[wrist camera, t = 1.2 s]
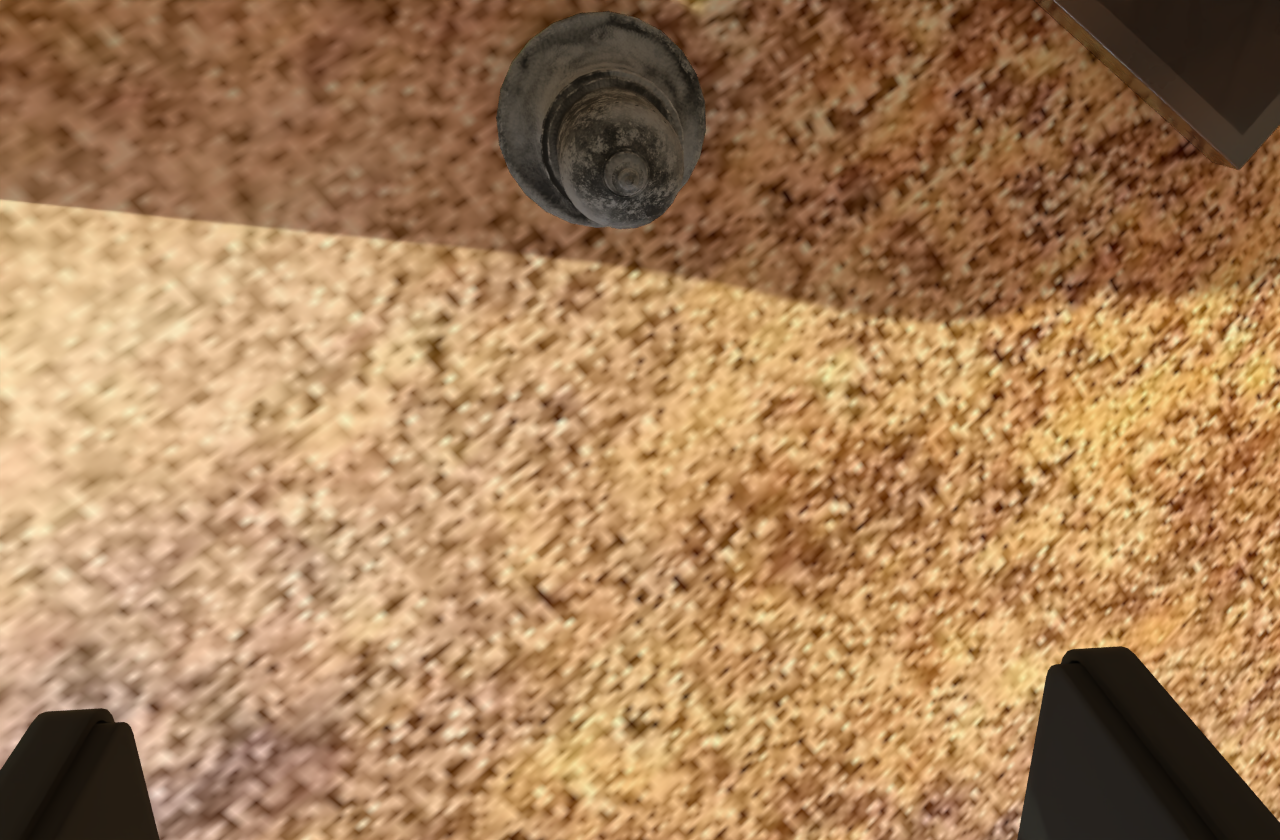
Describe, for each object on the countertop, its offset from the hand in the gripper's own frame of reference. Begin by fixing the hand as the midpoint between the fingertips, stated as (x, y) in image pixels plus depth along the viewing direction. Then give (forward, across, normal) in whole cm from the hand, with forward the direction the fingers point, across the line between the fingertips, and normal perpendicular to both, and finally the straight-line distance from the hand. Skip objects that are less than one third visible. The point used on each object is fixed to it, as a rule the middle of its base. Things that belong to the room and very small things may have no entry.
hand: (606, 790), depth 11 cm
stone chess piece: (+26, -1, -4) cm, 26 cm away
